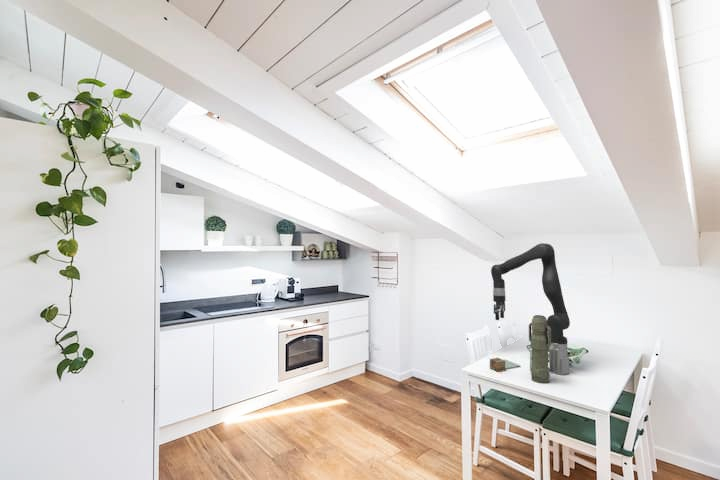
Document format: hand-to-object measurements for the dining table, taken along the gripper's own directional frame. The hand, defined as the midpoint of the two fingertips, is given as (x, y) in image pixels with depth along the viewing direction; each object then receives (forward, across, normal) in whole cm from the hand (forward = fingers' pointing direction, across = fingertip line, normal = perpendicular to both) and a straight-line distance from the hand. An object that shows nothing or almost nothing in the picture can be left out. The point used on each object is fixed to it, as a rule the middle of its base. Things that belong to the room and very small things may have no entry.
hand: (499, 318), depth 229 cm
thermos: (+25, -27, -31) cm, 48 cm away
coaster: (+24, -16, -8) cm, 30 cm away
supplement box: (+25, -12, -26) cm, 38 cm away
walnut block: (+25, -27, -8) cm, 37 cm away
